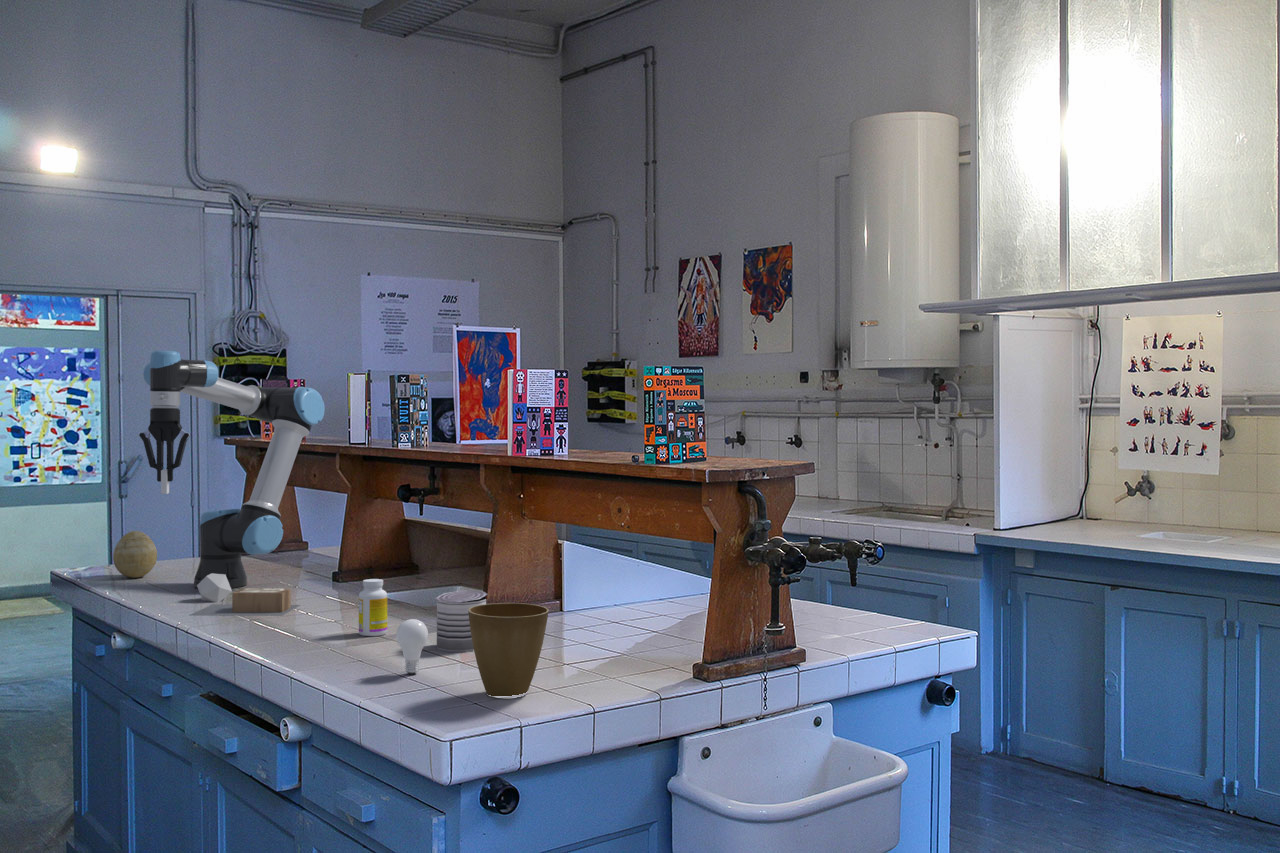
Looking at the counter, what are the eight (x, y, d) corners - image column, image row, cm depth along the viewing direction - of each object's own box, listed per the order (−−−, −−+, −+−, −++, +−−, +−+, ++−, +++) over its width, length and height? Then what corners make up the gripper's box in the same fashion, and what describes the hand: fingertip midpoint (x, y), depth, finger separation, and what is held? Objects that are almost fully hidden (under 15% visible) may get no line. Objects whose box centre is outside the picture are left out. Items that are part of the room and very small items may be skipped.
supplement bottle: (392, 632, 259) (393, 579, 259) (377, 637, 252) (377, 582, 252) (368, 630, 261) (369, 577, 261) (352, 635, 255) (353, 581, 254)
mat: (212, 606, 293) (212, 604, 293) (301, 606, 293) (301, 604, 293) (188, 617, 277) (188, 615, 277) (282, 617, 277) (282, 615, 277)
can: (495, 648, 241) (495, 595, 241) (447, 654, 235) (447, 599, 235) (474, 639, 251) (474, 588, 251) (427, 645, 245) (428, 592, 245)
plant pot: (481, 708, 191) (481, 618, 191) (458, 689, 205) (458, 605, 205) (559, 699, 198) (560, 612, 198) (532, 681, 211) (533, 600, 211)
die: (238, 603, 302) (232, 573, 306) (225, 592, 294) (219, 562, 299) (209, 614, 301) (204, 584, 305) (196, 603, 293) (190, 573, 298)
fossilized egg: (145, 580, 338) (145, 532, 337) (105, 580, 338) (105, 532, 338) (164, 575, 350) (164, 528, 350) (125, 574, 350) (125, 528, 350)
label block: (241, 588, 288) (290, 588, 289) (241, 607, 288) (290, 607, 289) (232, 592, 281) (282, 592, 282) (232, 612, 281) (282, 612, 282)
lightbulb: (398, 670, 220) (398, 616, 220) (429, 670, 220) (429, 616, 220) (393, 677, 213) (393, 622, 213) (426, 677, 214) (426, 622, 214)
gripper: (135, 407, 290) (135, 494, 290) (187, 407, 293) (187, 494, 293) (143, 407, 297) (143, 492, 298) (193, 407, 300) (193, 492, 300)
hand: (165, 493), depth 295 cm, fingers closed
